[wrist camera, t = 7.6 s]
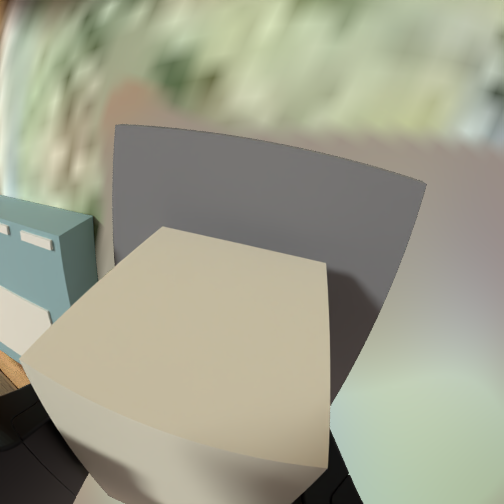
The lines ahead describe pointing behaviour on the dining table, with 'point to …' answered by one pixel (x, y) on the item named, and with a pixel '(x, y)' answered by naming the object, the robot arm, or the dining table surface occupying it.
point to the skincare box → (5, 385)
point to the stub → (194, 373)
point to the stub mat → (272, 213)
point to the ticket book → (40, 269)
